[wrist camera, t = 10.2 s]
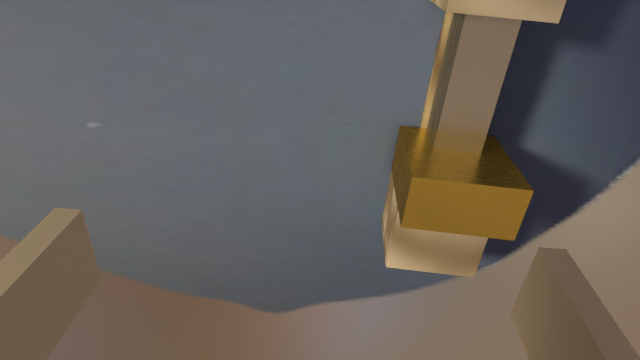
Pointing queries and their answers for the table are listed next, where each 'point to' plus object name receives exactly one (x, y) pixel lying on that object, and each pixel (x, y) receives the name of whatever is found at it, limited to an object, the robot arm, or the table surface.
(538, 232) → the table surface
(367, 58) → the table surface
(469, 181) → the golden wooden block
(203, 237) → the table surface
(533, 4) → the sleeve and socket
